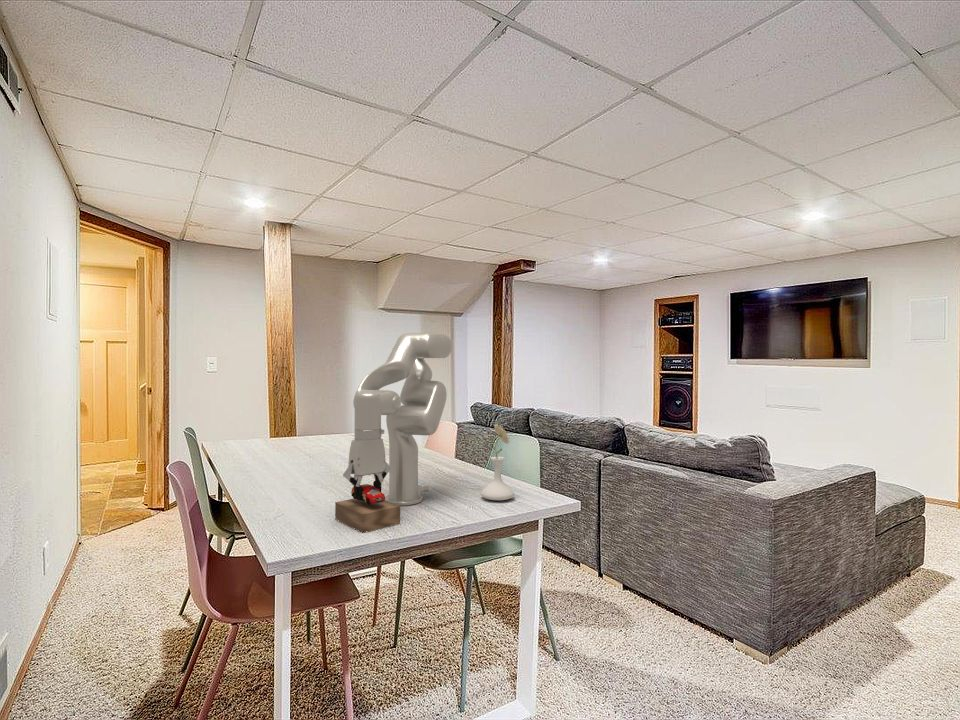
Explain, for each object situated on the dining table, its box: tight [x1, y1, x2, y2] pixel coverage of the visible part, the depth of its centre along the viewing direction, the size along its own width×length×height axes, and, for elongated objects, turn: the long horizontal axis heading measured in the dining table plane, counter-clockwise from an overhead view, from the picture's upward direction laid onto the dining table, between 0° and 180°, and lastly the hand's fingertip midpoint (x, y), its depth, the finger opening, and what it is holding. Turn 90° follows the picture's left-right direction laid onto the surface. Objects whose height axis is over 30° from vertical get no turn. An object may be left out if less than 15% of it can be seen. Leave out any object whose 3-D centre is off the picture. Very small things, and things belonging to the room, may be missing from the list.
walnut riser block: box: [334, 498, 401, 534], centre depth 147 cm, size 12×16×5 cm
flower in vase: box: [480, 423, 515, 501], centre depth 173 cm, size 13×11×25 cm
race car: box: [350, 483, 386, 505], centre depth 147 cm, size 13×5×4 cm, turn 41°
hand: (367, 496), depth 148 cm, fingers closed on race car, 5 cm apart
